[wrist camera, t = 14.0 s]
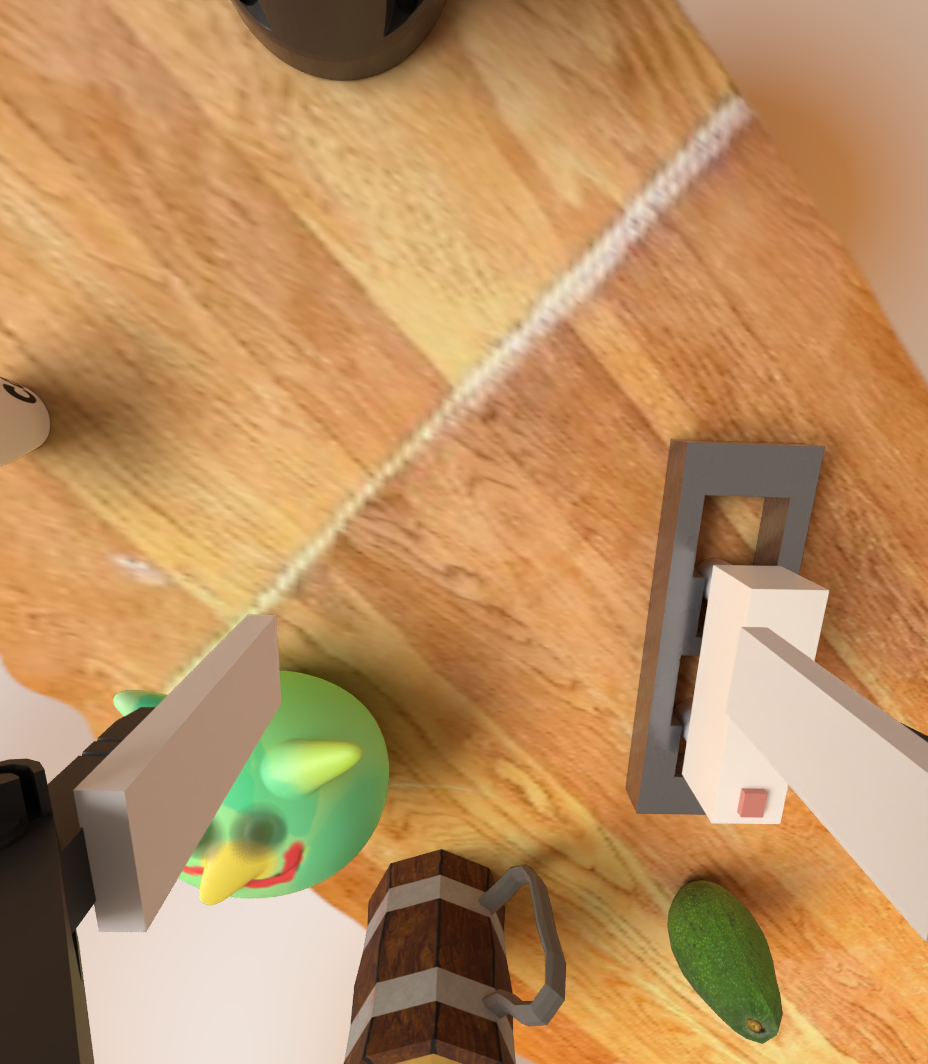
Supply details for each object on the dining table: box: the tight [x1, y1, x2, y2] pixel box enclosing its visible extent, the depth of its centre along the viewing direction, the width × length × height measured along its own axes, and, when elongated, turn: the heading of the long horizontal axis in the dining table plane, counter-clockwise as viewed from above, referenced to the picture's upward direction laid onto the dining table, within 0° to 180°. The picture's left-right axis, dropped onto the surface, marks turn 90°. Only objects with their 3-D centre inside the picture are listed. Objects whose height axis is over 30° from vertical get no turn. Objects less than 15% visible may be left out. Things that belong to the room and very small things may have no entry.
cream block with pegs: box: [673, 558, 829, 824], centre depth 39 cm, size 18×5×10 cm, turn 179°
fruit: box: [668, 880, 783, 1044], centre depth 44 cm, size 8×8×12 cm
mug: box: [344, 849, 566, 1064], centre depth 43 cm, size 20×14×15 cm
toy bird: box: [113, 670, 389, 905], centre depth 38 cm, size 18×17×15 cm
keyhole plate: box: [626, 439, 825, 815], centre depth 42 cm, size 32×10×3 cm, turn 178°
